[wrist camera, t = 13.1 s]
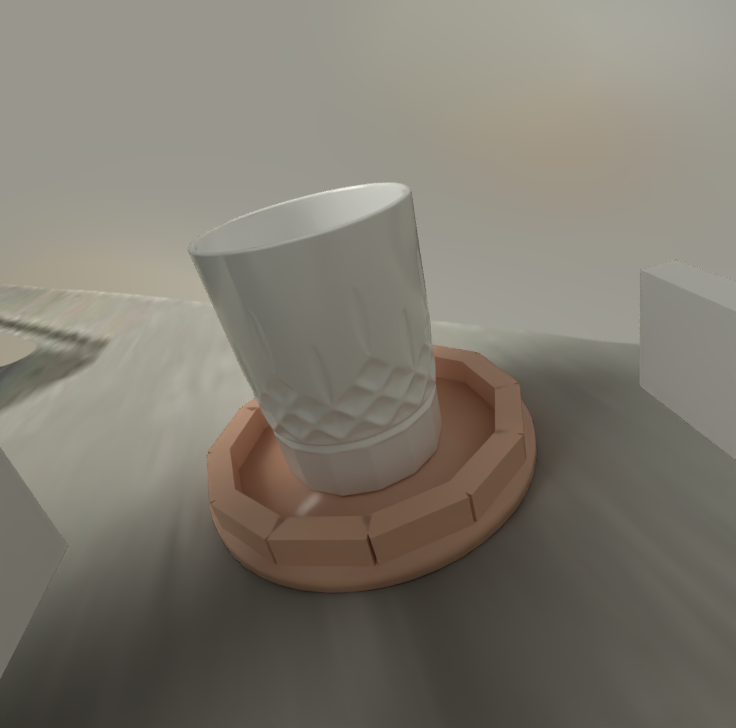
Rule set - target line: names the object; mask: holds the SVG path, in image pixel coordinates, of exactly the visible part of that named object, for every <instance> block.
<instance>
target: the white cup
mask: <svg viewBox="0 0 736 728" xmlns="http://www.w3.org/2000/svg"><path fill="white" fill-rule="evenodd" d="M188 252H189V254H190V256H191V259H192V261H193V263H194V265H195V267H196V270H197V272H198V274H199V276H200V278H201V281H202V283H203V285H204V287H205V289H206V292H207V294H208V296H209V298H210V301H211V303H212V305H213V307H214V309H215V312H216V314H217V316H218V318H219V321H220V323H221V325H222V327H223V330H224V332H225V334H226V336H227V339H228V341H229V343H230V345H231V348H232V350H233V352H234V354H235V357H236V359H237V361H238V363H239V365H240V368H241V370H242V372H243V374H244V376H245V378H246V380H247V382H248V383H249V385H250V387H251V389H252V390H253V393H254V396H255V398H256V401H257V403H258V405H259V408H260V410H261V411H262V413H263V415H264V417H265V418H266V420H267V422H268V423H269V425H270V426H271V428H272V429H273V431H274V434H275V436H276V439H277V441H278V444H279V446H280V448H281V450H282V453H283V455H284V457H285V460H286V462H287V464H288V466H289V469H290V471H291V473H292V474H293V475H294V476H295V477H297V478H298V479H299V480H300V481H301V482H302V483H303V484H305V485H306V486H307V487H308V488H309V489H310V490H314V491H319V492H324V493H329V494H335V495H340V496H346V495H353V494H359V493H366V492H372V491H378V490H382V489H384V488H386V487H388V486H390V485H392V484H394V483H396V482H398V481H400V480H402V479H404V478H406V477H408V476H410V475H412V474H414V473H416V472H417V471H418V470H419V469H420V468H421V467H422V465H423V464H424V463H425V462H426V461H427V460H428V459H429V458H430V457H431V456H432V455H433V454H434V453H435V452H436V451H437V449H438V444H439V439H440V435H441V430H442V419H441V413H440V407H439V400H438V394H437V388H436V383H435V381H436V368H435V355H434V350H433V346H432V341H431V325H430V315H429V308H428V301H427V294H426V288H425V281H424V274H423V267H422V261H421V254H420V248H419V240H418V234H417V227H416V220H415V212H414V205H413V198H412V191H411V188H410V187H409V186H408V185H405V184H402V183H393V182H385V183H371V184H362V185H355V186H350V187H344V188H339V189H334V190H329V191H325V192H320V193H315V194H311V195H307V196H303V197H299V198H296V199H292V200H289V201H285V202H282V203H278V204H275V205H272V206H269V207H266V208H262V209H260V210H257V211H254V212H251V213H248V214H245V215H243V216H240V217H238V218H235V219H233V220H230V221H228V222H225V223H223V224H221V225H219V226H217V227H214V228H213V229H210V230H209V231H207V232H205V233H203V234H202V235H200V236H199V237H197V238H196V239H195V240H193V241H192V242H191V243H190V245H189V247H188Z"/></svg>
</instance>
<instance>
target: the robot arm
mask: <svg viewBox="0 0 736 728" xmlns="http://www.w3.org/2000/svg"><path fill="white" fill-rule="evenodd" d="M640 387H642V388H643V389H644V390H646V391H647V392H648V393H649V394H651V395H652V396H653V397H655V398H656V399H657V400H659V401H660V402H661V403H662V404H664V405H665V406H666V407H668V408H669V409H670V410H671V411H673V412H674V413H675V414H677V415H678V416H679V417H681V418H682V419H683V420H684V421H686V422H687V423H688V424H690V425H691V426H692V427H694V428H695V429H696V430H697V431H699V432H700V433H701V434H703V435H704V436H705V437H706V438H708V439H709V440H710V441H712V442H713V443H714V444H716V445H717V446H718V447H719V448H721V449H722V450H723V451H725V452H726V453H727V454H729V455H730V456H731V457H732V458H734V459H735V460H736V282H735V281H733V280H730V279H728V278H725V277H722V276H719V275H717V274H714V273H711V272H709V271H706V270H703V269H701V268H698V267H695V266H693V265H690V264H687V263H684V262H682V261H679V260H673V261H670V262H666V263H662V264H659V265H655V266H651V267H648V268H644V269H641V270H640ZM67 547H68V545H67V543H66V542H65V540H64V539H63V537H62V536H61V534H60V533H59V532H58V530H57V529H56V527H55V526H54V524H53V523H52V521H51V520H50V518H49V517H48V516H47V514H46V513H45V511H44V510H43V508H42V507H41V505H40V504H39V503H38V501H37V500H36V498H35V497H34V495H33V494H32V492H31V491H30V490H29V488H28V487H27V485H26V484H25V482H24V481H23V479H22V478H21V477H20V475H19V474H18V472H17V471H16V469H15V468H14V466H13V465H12V463H11V462H10V461H9V459H8V458H7V456H6V455H5V453H4V452H3V450H2V449H1V448H0V679H1V677H2V675H3V673H4V671H5V669H6V667H7V665H8V663H9V661H10V659H11V657H12V655H13V653H14V651H15V649H16V647H17V645H18V643H19V641H20V639H21V637H22V636H23V634H24V632H25V630H26V628H27V626H28V624H29V622H30V620H31V618H32V616H33V614H34V612H35V610H36V608H37V606H38V604H39V602H40V600H41V598H42V596H43V594H44V592H45V590H46V589H47V587H48V585H49V583H50V581H51V579H52V577H53V575H54V573H55V571H56V569H57V567H58V565H59V563H60V561H61V559H62V557H63V555H64V553H65V551H66V549H67Z"/></svg>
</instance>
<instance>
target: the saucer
mask: <svg viewBox="0 0 736 728" xmlns="http://www.w3.org/2000/svg"><path fill="white" fill-rule="evenodd" d="M432 346H433V350H434V355H435V368H436V381H435V383H436V388H437V394H438V400H439V407H440V413H441V419H442V430H441V435H440V439H439V444H438V449H437V451H436V452H435V453H434V454H433V455H432V456H431V457H430V458H429V459H428V460H427V461H426V462H425V463H424V464H423V465H422V467H421V468H420V469H419V470H418V471H417V472H416V473H414V474H412V475H410V476H408V477H406V478H404V479H402V480H400V481H398V482H396V483H394V484H392V485H390V486H388V487H386V488H384V489H382V490H378V491H372V492H366V493H359V494H353V495H346V496H340V495H335V494H329V493H324V492H319V491H314V490H310V489H309V488H308V487H307V486H306V485H305V484H303V483H302V482H301V481H300V480H299V479H298V478H297V477H295V476H294V475H293V474H292V473H291V471H290V469H289V466H288V464H287V462H286V460H285V457H284V455H283V453H282V450H281V448H280V446H279V444H278V441H277V439H276V436H275V434H274V431H273V429H272V428H271V426H270V425H269V423H268V422H267V420H266V418H265V417H264V415H263V413H262V411H261V410H260V408H259V405H258V403H257V401H256V398H254V399H252V400H251V401H249V402H248V403H246V404H245V405H243V406H242V408H240V409H239V410H238V412H237V413H236V414H235V416H234V417H233V418H232V420H231V421H230V423H229V424H228V425H227V427H226V428H225V429H224V431H223V432H222V433H221V435H220V436H219V438H218V439H217V440H216V442H215V443H214V444H213V446H212V447H211V449H210V450H209V451H208V454H207V466H208V485H209V504H210V510H211V516H212V519H213V521H214V523H215V526H216V528H217V530H218V532H219V534H220V536H221V539H222V541H223V543H224V544H225V546H226V547H227V549H228V550H229V551H230V553H231V554H232V556H233V557H234V558H235V559H236V560H237V561H239V562H240V563H241V564H242V565H243V566H244V567H245V568H246V569H248V570H250V571H251V572H253V573H255V574H256V575H258V576H259V577H261V578H263V579H266V580H268V581H271V582H273V583H276V584H278V585H281V586H285V587H290V588H294V589H298V590H303V591H313V592H324V593H340V592H358V591H365V590H372V589H379V588H384V587H388V586H392V585H396V584H399V583H403V582H407V581H411V580H413V579H416V578H418V577H421V576H424V575H426V574H429V573H432V572H434V571H437V570H439V569H441V568H443V567H444V566H446V565H448V564H450V563H452V562H454V561H456V560H458V559H460V558H462V557H463V556H465V555H466V554H468V553H469V552H471V551H472V550H474V549H475V548H477V547H478V546H480V545H481V544H483V543H484V542H485V541H486V540H487V539H488V538H490V537H491V536H492V535H493V534H494V533H495V532H496V531H498V530H499V529H500V528H501V527H502V526H503V525H504V524H505V522H506V521H507V520H508V519H509V518H510V517H511V516H512V514H513V513H514V512H515V511H516V509H517V508H518V506H519V505H520V503H521V502H522V500H523V499H524V497H525V495H526V494H527V491H528V489H529V486H530V484H531V482H532V479H533V476H534V471H535V467H536V462H537V459H536V438H535V430H534V425H533V421H532V417H531V415H530V413H529V411H528V409H527V407H526V405H525V404H524V402H523V401H522V400H521V392H520V384H519V382H518V381H516V380H515V379H514V378H512V377H511V376H510V375H508V374H507V373H506V372H504V371H503V370H501V369H500V368H499V367H497V366H496V365H495V364H493V363H492V362H491V361H489V360H488V359H486V358H485V357H484V356H482V355H481V354H480V353H478V354H477V352H472V351H466V350H460V349H454V348H448V347H442V346H436V345H432Z"/></svg>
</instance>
